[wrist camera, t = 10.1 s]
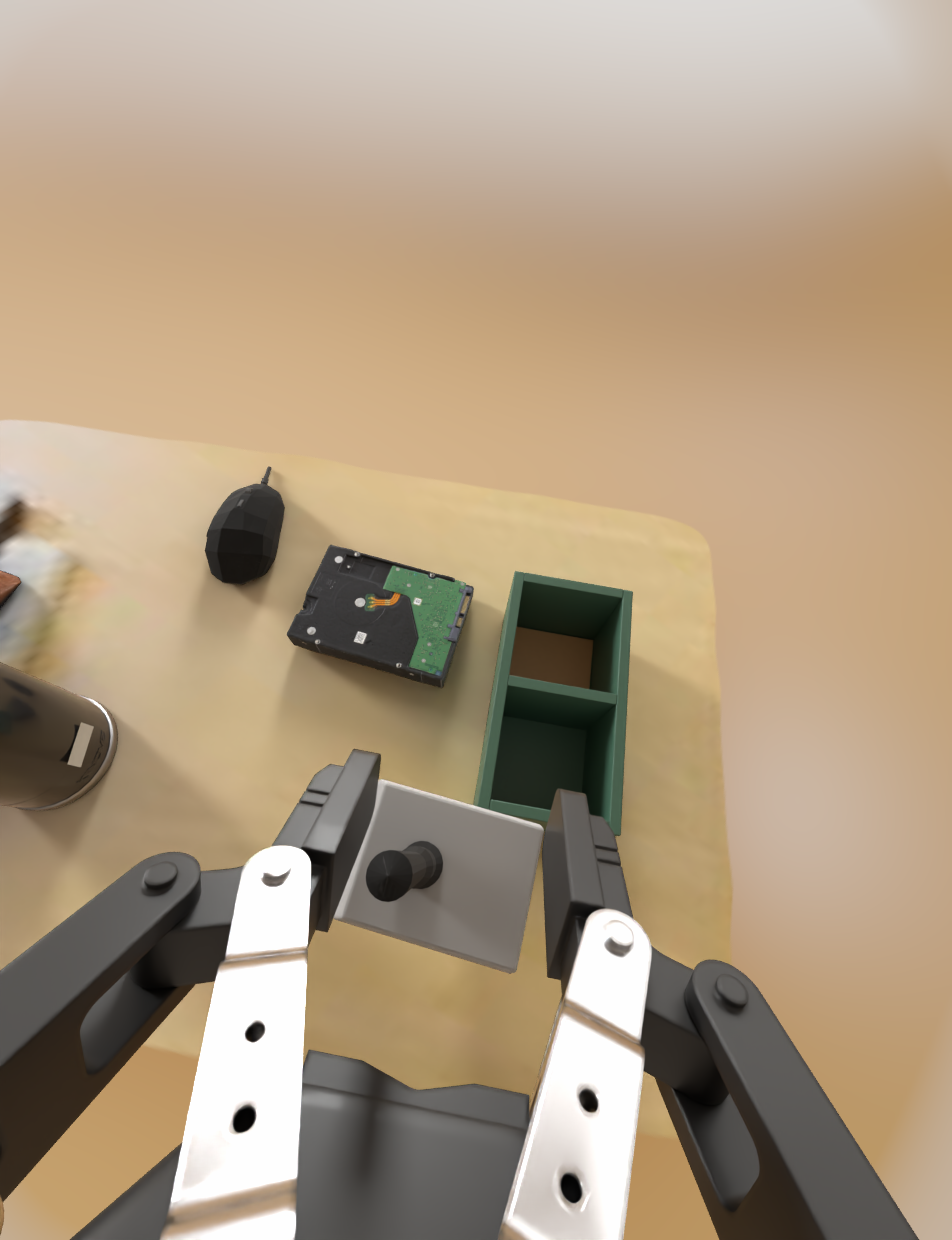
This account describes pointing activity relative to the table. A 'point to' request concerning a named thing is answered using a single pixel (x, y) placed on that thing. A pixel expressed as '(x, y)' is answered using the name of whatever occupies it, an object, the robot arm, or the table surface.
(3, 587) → the sunglasses case
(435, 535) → the table surface
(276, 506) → the gaming mouse
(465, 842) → the vintage mobile phone
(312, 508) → the table surface
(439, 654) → the disk drive
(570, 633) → the caddy
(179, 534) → the table surface
